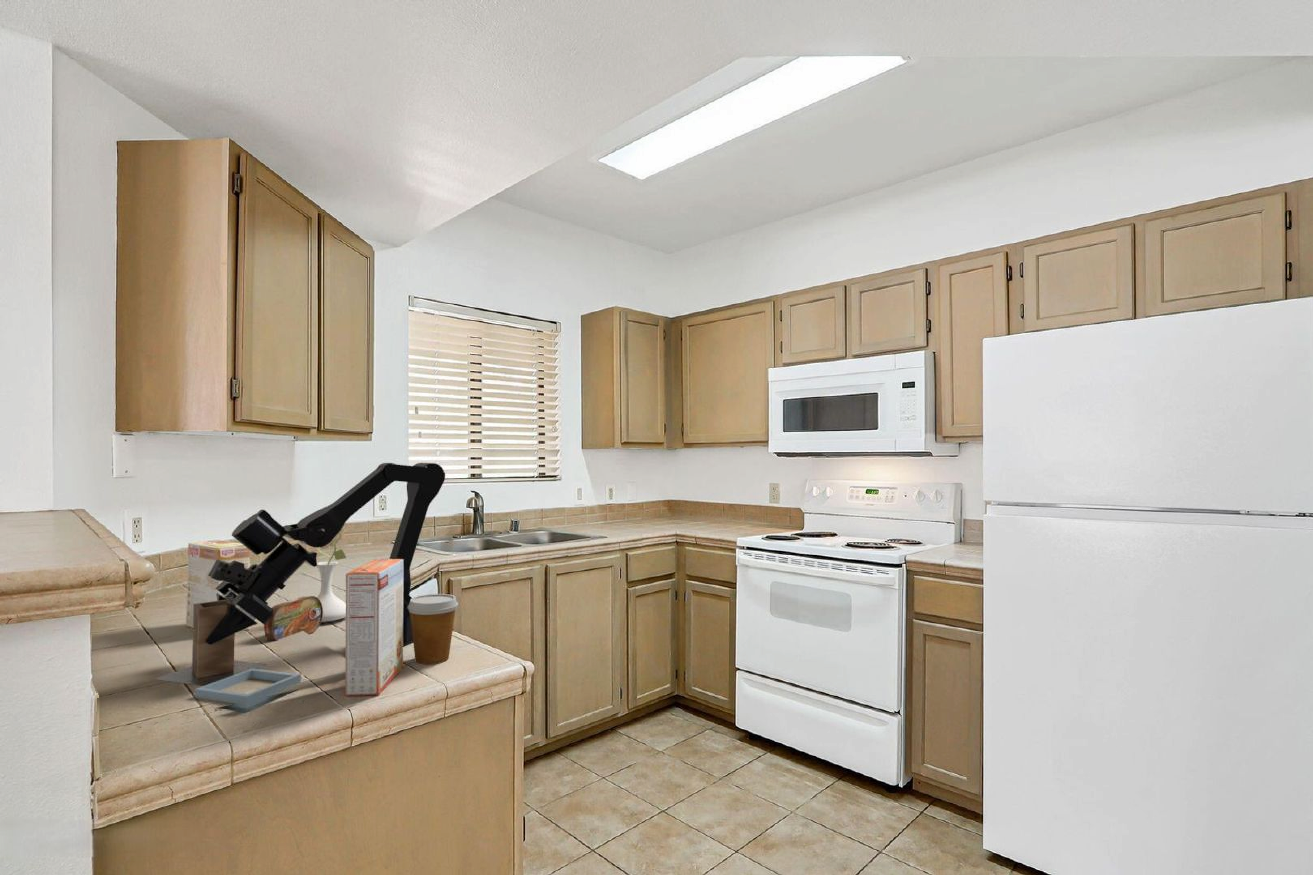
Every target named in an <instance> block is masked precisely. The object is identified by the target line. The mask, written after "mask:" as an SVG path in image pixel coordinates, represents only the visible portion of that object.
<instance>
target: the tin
mask: <svg viewBox="0 0 1313 875" xmlns="http://www.w3.org/2000/svg"><path fill="white" fill-rule="evenodd" d="M271 608H272V609H273V617H272V618H271V619H270V620H269V621H268V622H267V623H266V624H265V625H264V624H263V625H264V626H263V629H264V630H263V631H264V635H265V638H266V639H267V640H268V641H279V640H281V639H284V638H287V637H290V636H293V635H295V634H298V633H301V632H305V633H306V634H307V635H311V634H313V633H315V632H316V631H317V630H318V629H319V627H320V625H321V623H322V622H321V620H322V616H323V608H322V604H321V602H320V600H319V599H318V598H317V596H314V595H309V596H300V597H296V598H294V599H291V600H288V601H284V602H281V603H278V604H275V605H274V606H272V607H271Z"/></svg>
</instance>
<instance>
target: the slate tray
mask: <svg viewBox="0 0 1313 875" xmlns="http://www.w3.org/2000/svg"><path fill="white" fill-rule="evenodd" d="M251 679H256V680H265V681H273V682H274V683H271V684H269V685H266V686H264V687H261V688H258V689H256V690H254V691H251V692H249V693H242V692H234V691H228V690H224V689H227V688H229V687H232V686H234V685H238V684H241V683H242V682H245V681H247V680H251ZM301 681H302V674H300V673H290V672H283V671H276V670H269V669H268V670H266V669H261V668H257V669H253V668H252V669H249V670H247V671H244V672H241V673H238V674H236V675H233V676H230V677H227V678H224V679H222V680H219V681H216V682H213V683H211V684H208V685H205V686H200V687H198V688H195V689H194V698H196V699H202V700H210V701H216V702H222V703H229V704H227V705H223V706H218V707H217V709H219V710H227V711H234V712H240V713H248V712H252V711H253V710H256V709H257V708H260V707H263V706H265V705H267V704H269V703H272V702H274V701H276V699H277V700H279V699H280V698H284V697H285V696H288V695H290V694H293V693H295V692H298V689H296V690H291V691H286V692H281V691H284V690H286V689H289V688H291V687H293V686H295V685H298V684H301ZM279 692H281V693H279ZM277 693H278V694H277ZM287 694H288V695H287ZM278 698H279V699H278ZM230 703H231V704H230Z"/></svg>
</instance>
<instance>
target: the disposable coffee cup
mask: <svg viewBox="0 0 1313 875" xmlns="http://www.w3.org/2000/svg"><path fill="white" fill-rule="evenodd" d="M458 605H459V602H458V601H457V598H456V595H453V594H448V593H447V594H445V593H433V594H432V593H431V594H423V595H418V596H414V597H412V599H411V600H410V603H409V605H408V609H409V612H410V617H411V626H412V635H413V642H412V644H413V652H414V662H415V663H416V664H417V663H418V664H420V665H435V664H440V663H444V662H446V661H448V660H449V657H450V650H451V644H452V637H453V630H454V622H455V616H456V610H457V609H458Z"/></svg>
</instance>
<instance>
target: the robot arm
mask: <svg viewBox="0 0 1313 875" xmlns="http://www.w3.org/2000/svg"><path fill="white" fill-rule="evenodd" d="M445 480H446V472H445V471H444V468H443V467H442V466H441V465H440V464H438V463H435V462H434V463H433V462H418V463H416V464H413V465H407V464H397V463H394V462H383V463H381V464H378V466H377V467H376V468H375V469H374V470H373V471H372V472H371V473H369V474H368V475H367V476H366V477H364V478H363V479H362V480H360V481H359V482H358V483H356V484H355V485H354V486H353V487H351V489H349V490H348V491H347V492H346V493H344V494H343V495H342V496H340V497H339V498H337V500H335V501H334V502H332V503H330V504H329V505H326V506H324V507H322V508H320V509H318V510H316V511H313V512H312V513H311V514H309V515H307V516H305V517H303V518H302V519H300V520H299V521H298V522H297V523H294V524H293V523H291V524H288V525H287V524H286V525H282V524H280V523H279V522H278V521H277V520H276V519H274V517H272V515H271V514H270V513H269V512H268V511H266V510H265V509H260V510H259V511H257V513H254V514H252V515H251V516H249V517H248V518H246V519H244V520H243V521H242V522H241V523H239V525H238V526H236V527H235V529H234V530H233V531H232V533H231V537H233V538H234V539H235V540H236V541H238V542H239V543H240V544H243V545H244V546H245V547H247V548H248V549H249V550H250V552H252V553H253V554H254V555H256V556H258V555H260V554H264V555H267V554H268V555H267V556H266V557H265V558H264V559H263V560H262V561H261V562H260V563H255V564H254V563H253V564H250V567H249V568H248V569H247V568H244V563H240V562H237V561H235V560H234V561H232V562H231V563H228V562H225V561H221V560H218V559H217V560H216V562H215V564H214V565H213V567H212V569H211V571H210V573H209V575H208V576H211V578H212V579H215V580H218V581H222V582H221V583H220V584H219V585H218V586H217V587H216V588H215V589H217V590H218V591H219V592H221V593H222V595H219V594H218V593H217V594H216V596H217V601H220V600H228V599H229V600H230V601H231V602H233V603H234V604H235V606H234V605H233V604H231V603H230V602H227V613H226V615H225V616H224V617H223V619H222V620H221V621H220V622H219V624H218V625H217V626H216V627H215V629H214V630H213V631H212V632H211V634H210V635H209V636H208V638H207V639H206V643H208V644H209V645H211V644H213V643H215V642H218V641H220V640H222V639H224V638H226V637H228V636H230V635H232V634H234V633H235V634H236V633H239V632H241V630H242V631H244V630H243V629H246V628H249V627H252V626H256V625H258V622H260V623H261V624H262V625H265V624H266V623H267V622H268V621H269V620H270V619H271V618H272V617H273V609H272V607H270V605H268V604H269V603H268V600H269V599H270V598H271V597H272V596H273V595H274V594H275V593H276V591H278V590H280V591H282V590H283V589H284V588H286V586H287V585H286V584H285V583H286V582H287V581H288V579H290V578H291V577H292V576H293V575H294V574H295V572H297V571H298V570H299V569H300V568H301V567H302V566H303V565H304V563H306V564H307V565H309V566H311V567H312V568H313V567H314V568H315V567H316V568H317V563H318V562H317V556H318V552H315V551H309V550H307V549H306V548H305V547H304V546H302V545H301V544H303V545H306V546H309V547H312V548H320V547H324V546H326V545H327V544H329V543H330V542H331V541H332V540H333V538H334V537H335V536H336V535H337V534H338V533H339V532H340V531H341V529H342V527H343V526H344V524H345V525H346V523H347V521H348V520H349V519H350V518H351V517H352V516H353V515H354V514H356V513H357V512H358V511H359V510H361V509H362V508H363V507H365V506H366V505H367V504H368V503H369V502H370V501H371V500H373V499H374V498H375V497H376V496H378V495H379V494H380V493H381V492H382V491H384V490H385V489H386V488H388V486H390V485H391V484H393V483H394V482H401V483H406V496H407V501H406V505H405V508H404V509H403V510H404V512H403V514H402V517H401V520H400V523H399V527H398V531H397V534H396V537H395V539H394V543H393V546H392V549H391V553H390V555H389V558H388V559H403V647H404V646H406V645H409V644H411V643H413V635H412V626H411V617H410V612H409V609H408V605H409V603H410V600H411V599H412V598H413V597H412V596H410V595H411V594H410V592H411V588H412V580H411V579H412V578H411V566H412V561H413V559H414V555H415V553H416V548H417V545H418V543H419V540H420V537H421V536H420V535H421V532H422V529H423V526H424V523H425V519H426V516H427V513H428V510H429V506H430V504H431V503H432V502H433V501H434V499H435V498H436V497H437V495H438V494H439V492H440V490H441V488H442V487H443V485H444V483H445ZM344 527H345V526H344ZM284 537H285V538H284ZM286 538H288V539H291V540H294V541H299V543H294V544H292V543H290V542H289V541H288V540H287V539H286ZM300 543H301V544H300ZM256 620H257V621H258V622H257V621H256Z"/></svg>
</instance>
